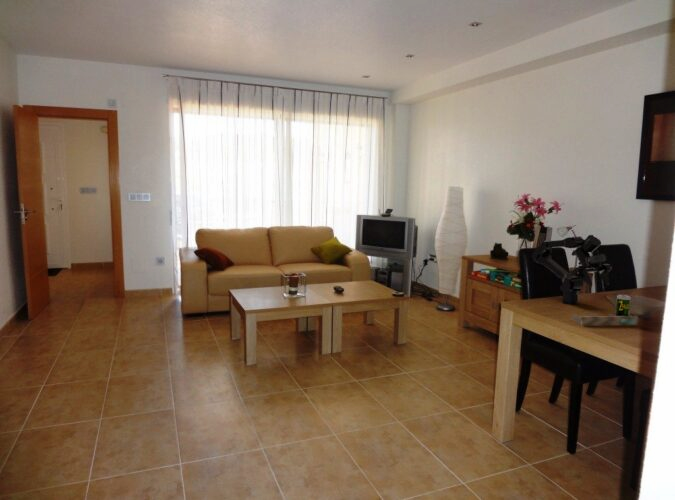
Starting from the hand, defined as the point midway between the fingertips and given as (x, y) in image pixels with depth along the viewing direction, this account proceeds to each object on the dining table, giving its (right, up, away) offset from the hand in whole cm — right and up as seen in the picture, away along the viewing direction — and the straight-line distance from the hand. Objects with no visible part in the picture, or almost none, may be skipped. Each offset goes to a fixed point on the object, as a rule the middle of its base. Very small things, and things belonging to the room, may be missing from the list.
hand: (600, 285), depth 216 cm
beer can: (+3, -16, -12) cm, 20 cm away
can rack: (-5, -16, -12) cm, 20 cm away
